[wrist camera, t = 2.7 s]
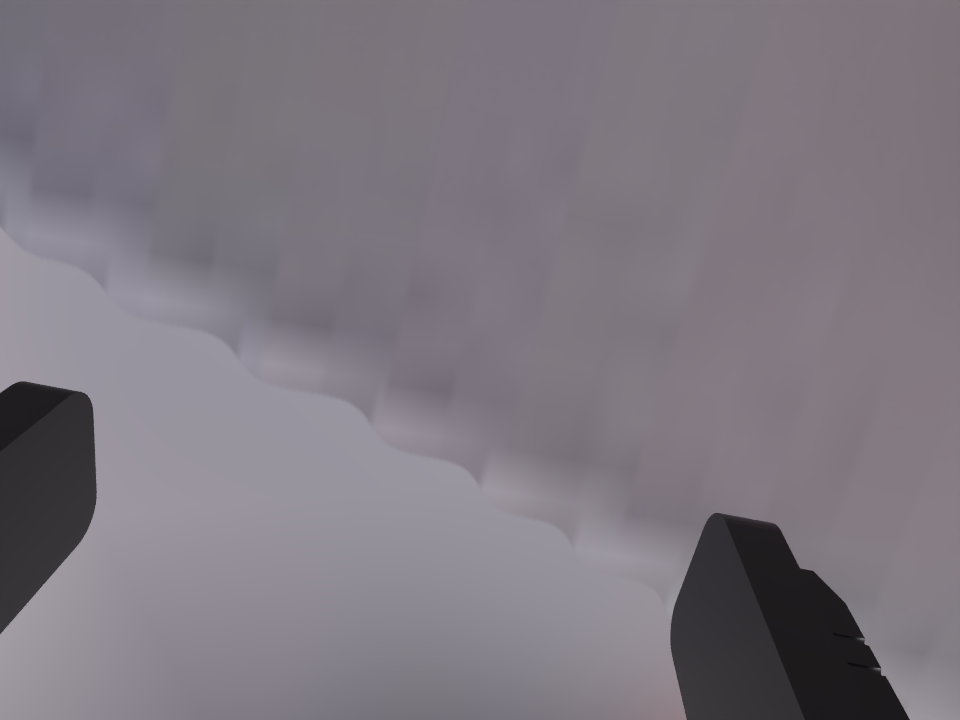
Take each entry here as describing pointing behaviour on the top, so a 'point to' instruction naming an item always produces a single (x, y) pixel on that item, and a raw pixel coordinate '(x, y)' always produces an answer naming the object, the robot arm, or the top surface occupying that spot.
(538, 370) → the top surface
